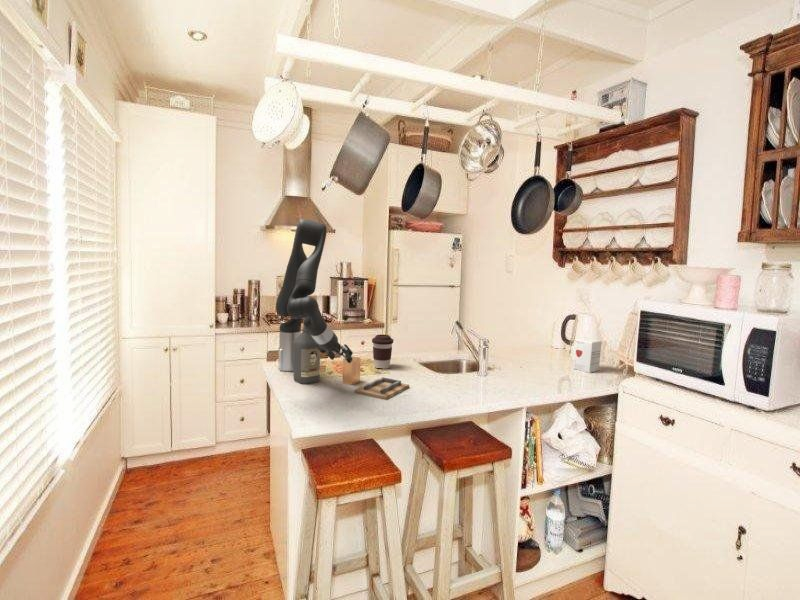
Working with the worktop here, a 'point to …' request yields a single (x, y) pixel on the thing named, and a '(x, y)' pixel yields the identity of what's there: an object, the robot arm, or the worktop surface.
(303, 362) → the liquor
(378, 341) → the coffee cup
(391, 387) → the board
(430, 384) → the worktop surface
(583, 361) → the supplement box
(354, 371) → the block
